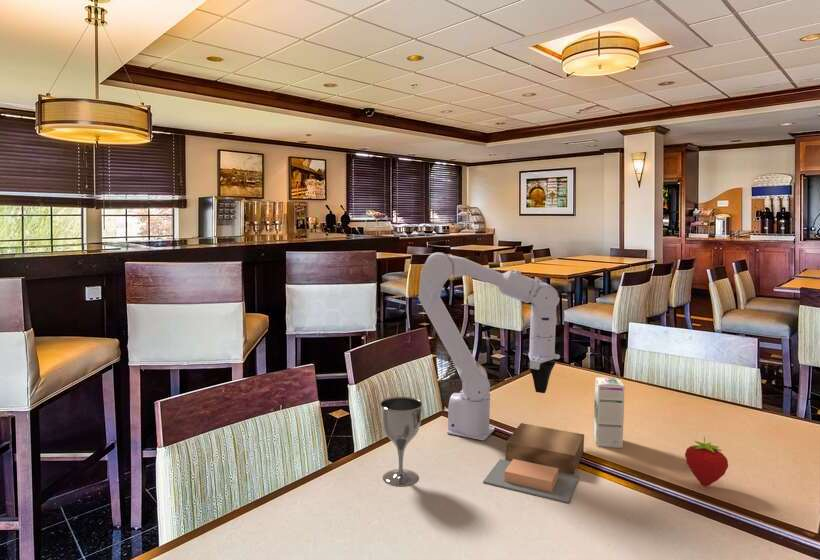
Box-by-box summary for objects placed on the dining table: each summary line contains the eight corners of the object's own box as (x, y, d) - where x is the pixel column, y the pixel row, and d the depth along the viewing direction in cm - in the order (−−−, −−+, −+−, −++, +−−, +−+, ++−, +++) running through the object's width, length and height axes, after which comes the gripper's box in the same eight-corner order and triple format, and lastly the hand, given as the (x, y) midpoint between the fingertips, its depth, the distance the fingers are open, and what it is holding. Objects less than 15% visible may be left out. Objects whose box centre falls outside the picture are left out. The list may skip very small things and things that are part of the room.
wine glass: (391, 491, 98) (391, 413, 97) (373, 473, 105) (374, 400, 104) (428, 481, 102) (429, 406, 100) (409, 465, 109) (410, 394, 107)
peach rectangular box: (513, 458, 107) (512, 468, 107) (504, 471, 102) (504, 481, 102) (558, 468, 103) (558, 478, 103) (551, 481, 98) (551, 492, 98)
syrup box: (623, 448, 118) (626, 385, 116) (595, 446, 119) (598, 383, 117) (618, 438, 123) (621, 378, 122) (591, 436, 125) (594, 376, 123)
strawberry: (716, 499, 96) (720, 446, 95) (676, 482, 103) (679, 432, 102) (732, 490, 100) (736, 439, 99) (693, 474, 106) (696, 426, 105)
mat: (483, 482, 102) (483, 481, 102) (500, 460, 111) (500, 458, 111) (568, 503, 95) (568, 501, 95) (578, 477, 104) (578, 475, 104)
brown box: (505, 460, 111) (505, 442, 111) (520, 439, 122) (521, 423, 122) (573, 475, 105) (574, 455, 105) (583, 452, 116) (584, 434, 115)
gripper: (553, 343, 114) (551, 403, 116) (566, 331, 127) (564, 385, 129) (521, 339, 118) (519, 399, 119) (536, 328, 130) (535, 381, 132)
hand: (540, 391), depth 124 cm, fingers closed
